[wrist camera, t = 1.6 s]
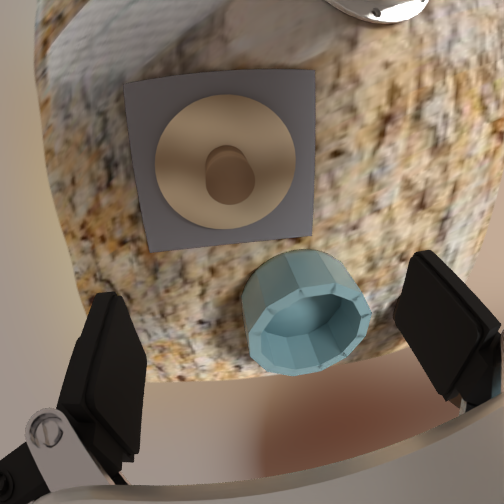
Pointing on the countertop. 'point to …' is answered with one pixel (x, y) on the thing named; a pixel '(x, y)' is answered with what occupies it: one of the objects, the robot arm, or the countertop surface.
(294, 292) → the bowl
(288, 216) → the mat
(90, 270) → the countertop surface
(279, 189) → the lid
